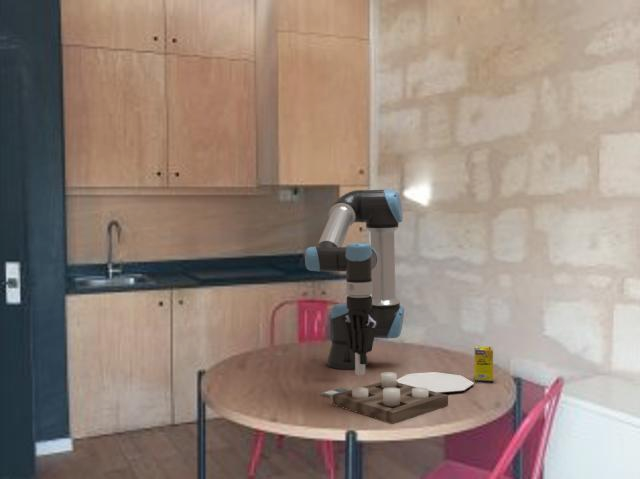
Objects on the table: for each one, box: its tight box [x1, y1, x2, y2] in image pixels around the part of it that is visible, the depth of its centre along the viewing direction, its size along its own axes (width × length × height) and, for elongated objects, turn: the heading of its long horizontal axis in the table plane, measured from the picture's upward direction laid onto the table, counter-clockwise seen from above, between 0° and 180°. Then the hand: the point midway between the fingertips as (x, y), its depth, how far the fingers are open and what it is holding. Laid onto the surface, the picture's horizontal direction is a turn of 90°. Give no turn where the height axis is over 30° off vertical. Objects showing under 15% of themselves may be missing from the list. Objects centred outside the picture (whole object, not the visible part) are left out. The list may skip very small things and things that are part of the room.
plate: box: [397, 371, 474, 394], centre depth 220 cm, size 24×24×2 cm
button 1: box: [351, 386, 368, 399], centre depth 199 cm, size 5×5×4 cm
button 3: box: [383, 388, 400, 406], centre depth 189 cm, size 5×5×4 cm
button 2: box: [380, 371, 398, 388], centre depth 207 cm, size 5×5×4 cm
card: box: [320, 387, 350, 399], centre depth 210 cm, size 9×9×1 cm
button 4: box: [412, 387, 428, 400], centre depth 198 cm, size 5×5×4 cm
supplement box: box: [473, 346, 494, 384], centre depth 224 cm, size 6×6×11 cm
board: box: [332, 381, 449, 424], centre depth 198 cm, size 24×24×3 cm
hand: (360, 374), depth 199 cm, fingers closed
